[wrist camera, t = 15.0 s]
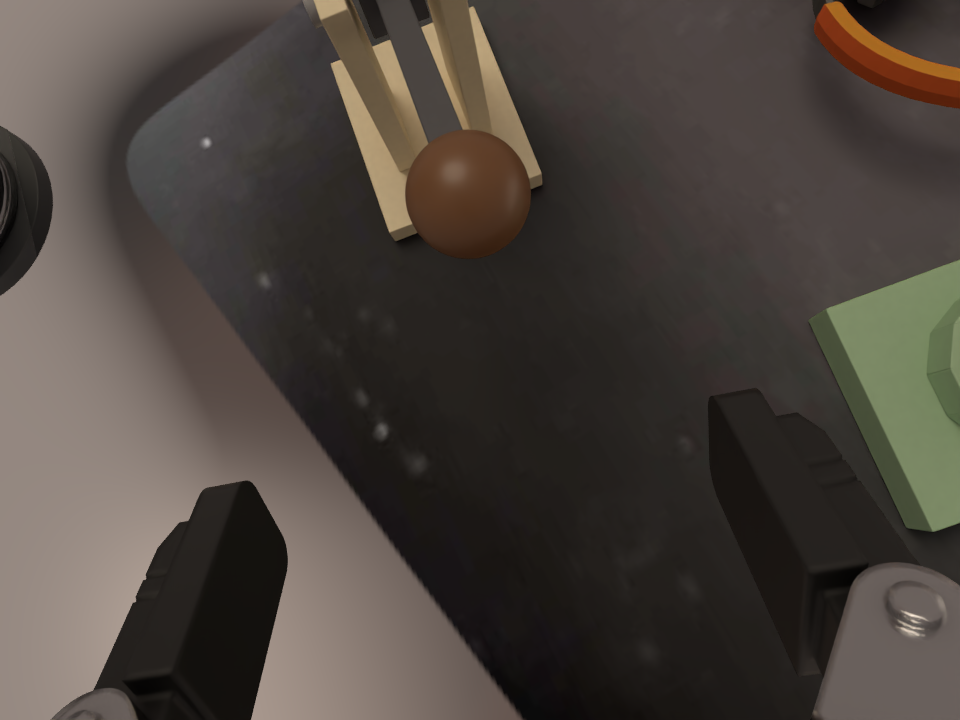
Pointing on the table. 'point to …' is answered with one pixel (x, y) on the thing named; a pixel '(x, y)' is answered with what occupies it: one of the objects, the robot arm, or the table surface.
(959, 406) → the control block
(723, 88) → the table surface
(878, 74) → the headphones
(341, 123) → the table surface
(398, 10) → the lever
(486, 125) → the switch bracket
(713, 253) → the table surface
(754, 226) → the table surface
